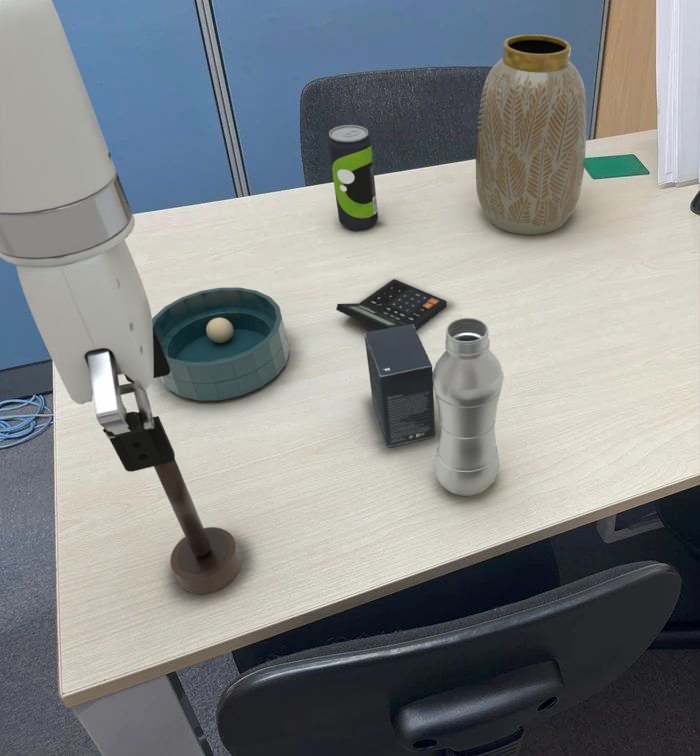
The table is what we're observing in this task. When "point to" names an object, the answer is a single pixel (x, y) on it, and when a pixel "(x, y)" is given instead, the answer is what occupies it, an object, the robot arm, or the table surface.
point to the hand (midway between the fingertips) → (150, 417)
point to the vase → (531, 136)
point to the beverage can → (353, 176)
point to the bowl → (221, 360)
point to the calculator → (395, 307)
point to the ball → (219, 330)
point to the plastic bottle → (467, 408)
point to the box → (401, 384)
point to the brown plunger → (197, 541)
